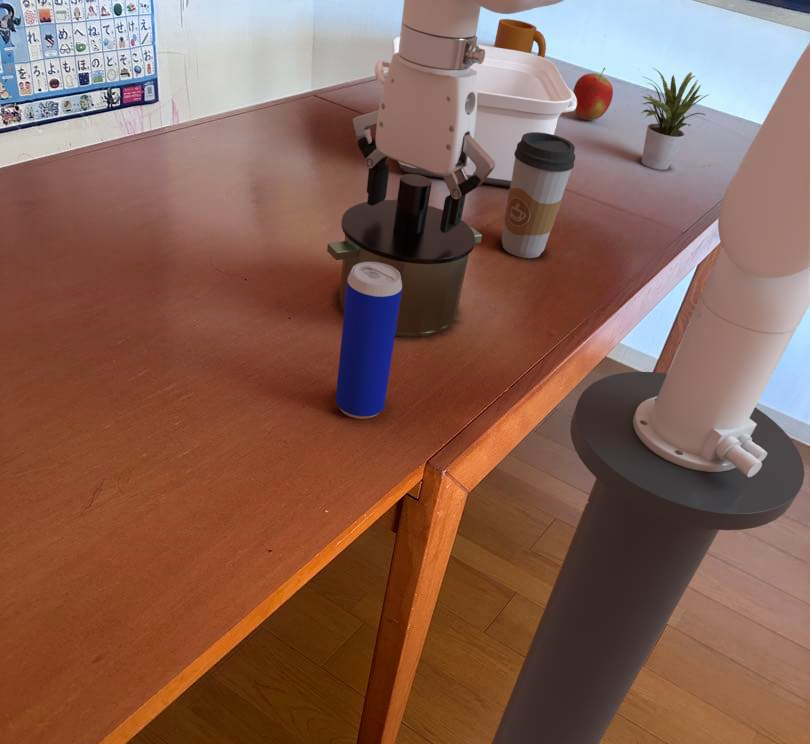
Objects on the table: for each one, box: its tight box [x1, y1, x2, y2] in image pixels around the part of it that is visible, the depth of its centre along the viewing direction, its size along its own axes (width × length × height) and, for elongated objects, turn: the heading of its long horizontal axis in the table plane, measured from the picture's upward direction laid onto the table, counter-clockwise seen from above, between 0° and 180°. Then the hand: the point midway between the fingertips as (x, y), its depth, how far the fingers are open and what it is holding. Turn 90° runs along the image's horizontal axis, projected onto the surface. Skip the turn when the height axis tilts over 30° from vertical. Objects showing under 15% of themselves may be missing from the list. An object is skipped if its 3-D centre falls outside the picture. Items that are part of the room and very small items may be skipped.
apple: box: [572, 67, 614, 121], centre depth 168 cm, size 8×8×10 cm
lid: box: [340, 173, 476, 264], centre depth 94 cm, size 16×16×7 cm
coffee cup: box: [501, 132, 576, 259], centre depth 115 cm, size 8×8×15 cm
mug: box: [493, 18, 547, 58], centre depth 190 cm, size 9×12×9 cm
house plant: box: [641, 67, 709, 171], centre depth 152 cm, size 14×14×16 cm
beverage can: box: [335, 262, 402, 420], centre depth 80 cm, size 5×5×15 cm
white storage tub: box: [374, 35, 577, 188], centre depth 139 cm, size 34×29×15 cm
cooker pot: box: [326, 226, 483, 338], centre depth 99 cm, size 15×20×10 cm
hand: (411, 215), depth 94 cm, fingers open, 9 cm apart
